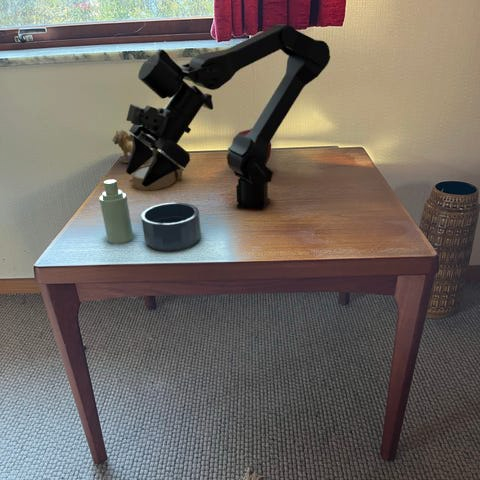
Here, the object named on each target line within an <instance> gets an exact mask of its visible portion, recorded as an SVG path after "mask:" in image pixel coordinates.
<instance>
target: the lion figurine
mask: <svg viewBox="0 0 480 480" xmlns="http://www.w3.org/2000/svg"><path fill="white" fill-rule="evenodd" d="M111 141H112V142H113V144H114V145H117V146H118V147H119V148H120V149H121V151H122V153H123V156H124V158H125V159H124V161H123V163H124V164H128V163H129V159H130V157H129V156H128V153H129V154H130V155H131V153H132V149H133V143H132V139H131V137H130V134H129V133H128V132H127V131H125V130H123V129H118V130H115V134H114V136H113V137H112V138H111ZM146 164H147V163H146V162H145V163H144V164H143V165H146ZM143 165H142V166H143Z"/></svg>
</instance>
